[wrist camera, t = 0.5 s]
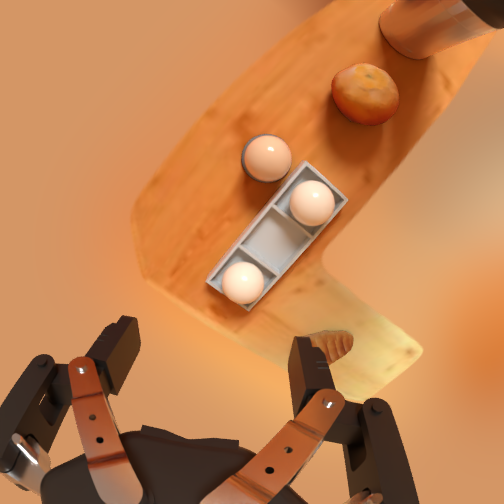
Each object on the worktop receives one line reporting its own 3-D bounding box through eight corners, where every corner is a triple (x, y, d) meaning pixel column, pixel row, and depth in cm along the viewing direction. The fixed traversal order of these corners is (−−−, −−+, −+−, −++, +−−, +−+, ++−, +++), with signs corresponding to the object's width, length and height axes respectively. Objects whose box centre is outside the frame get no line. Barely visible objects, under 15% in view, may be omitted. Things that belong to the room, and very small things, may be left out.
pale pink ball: (263, 128, 30) (265, 123, 25) (297, 156, 31) (305, 155, 26) (236, 161, 32) (233, 162, 27) (269, 188, 33) (273, 193, 28)
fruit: (346, 147, 30) (356, 106, 22) (320, 101, 32) (322, 59, 24) (399, 134, 29) (418, 96, 21) (371, 91, 31) (381, 52, 23)
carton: (302, 160, 32) (306, 160, 30) (342, 196, 33) (348, 199, 31) (208, 274, 37) (205, 281, 35) (248, 302, 38) (248, 311, 36)
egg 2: (305, 169, 31) (314, 172, 27) (336, 197, 33) (350, 204, 28) (277, 202, 33) (282, 210, 28) (309, 228, 34) (318, 240, 29)
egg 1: (240, 247, 35) (238, 262, 30) (271, 271, 36) (274, 289, 31) (215, 276, 36) (210, 295, 31) (246, 298, 37) (246, 319, 32)
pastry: (347, 318, 40) (355, 332, 36) (353, 348, 42) (360, 362, 38) (290, 337, 41) (293, 353, 37) (300, 366, 43) (304, 381, 39)
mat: (262, 124, 30) (262, 124, 30) (301, 155, 32) (301, 155, 31) (231, 162, 32) (231, 162, 32) (270, 192, 33) (270, 192, 33)
